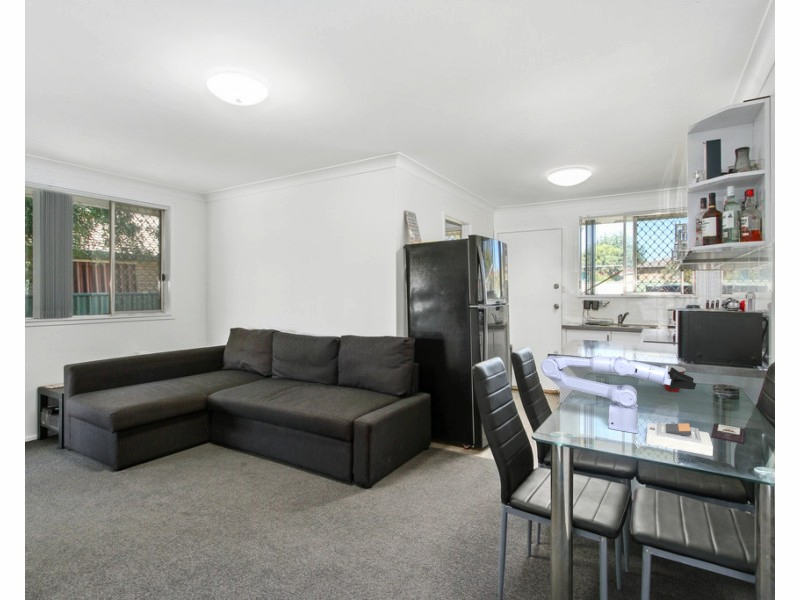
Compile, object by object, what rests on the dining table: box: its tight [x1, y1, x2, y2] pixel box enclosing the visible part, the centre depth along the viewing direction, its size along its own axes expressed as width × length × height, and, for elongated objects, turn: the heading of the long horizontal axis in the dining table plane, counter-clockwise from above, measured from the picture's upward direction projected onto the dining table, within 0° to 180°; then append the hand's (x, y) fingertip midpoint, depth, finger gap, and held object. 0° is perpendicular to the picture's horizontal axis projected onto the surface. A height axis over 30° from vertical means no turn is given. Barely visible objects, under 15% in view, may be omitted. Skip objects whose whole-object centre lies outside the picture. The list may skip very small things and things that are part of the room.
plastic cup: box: [660, 364, 687, 393], centre depth 214 cm, size 11×11×12 cm
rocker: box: [666, 422, 692, 436], centre depth 143 cm, size 7×9×2 cm
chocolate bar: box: [710, 423, 746, 445], centre depth 153 cm, size 9×1×18 cm
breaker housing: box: [645, 421, 714, 457], centre depth 143 cm, size 18×15×4 cm
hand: (694, 383), depth 145 cm, fingers open, 7 cm apart
